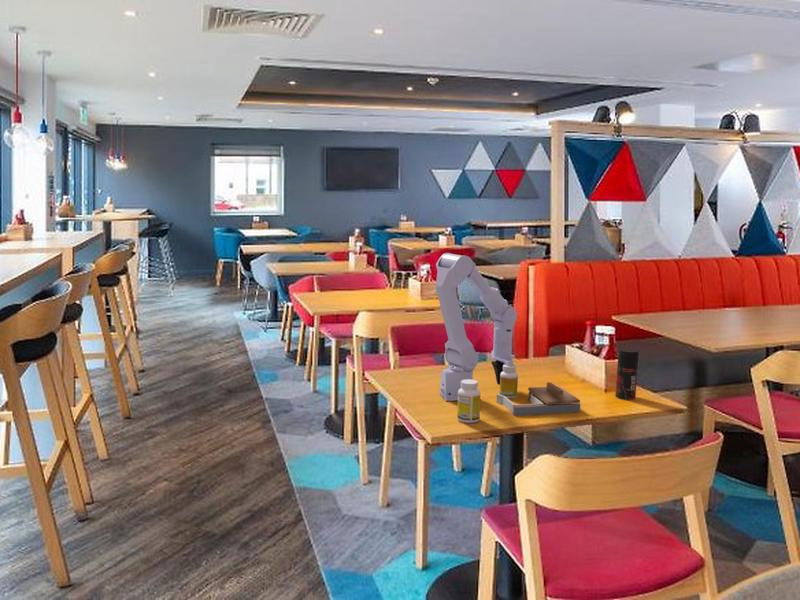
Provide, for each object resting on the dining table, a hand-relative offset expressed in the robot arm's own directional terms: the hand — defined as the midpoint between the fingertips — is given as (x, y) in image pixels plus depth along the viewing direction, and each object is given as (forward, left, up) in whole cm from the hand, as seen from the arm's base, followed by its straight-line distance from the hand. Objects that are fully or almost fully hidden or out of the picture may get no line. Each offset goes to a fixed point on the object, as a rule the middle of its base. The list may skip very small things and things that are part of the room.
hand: (500, 384), depth 228 cm
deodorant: (+36, -13, -2) cm, 38 cm away
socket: (+5, -18, -2) cm, 19 cm away
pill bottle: (-19, -26, -2) cm, 32 cm away
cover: (+10, -18, +1) cm, 20 cm away
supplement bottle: (0, -7, -2) cm, 7 cm away
